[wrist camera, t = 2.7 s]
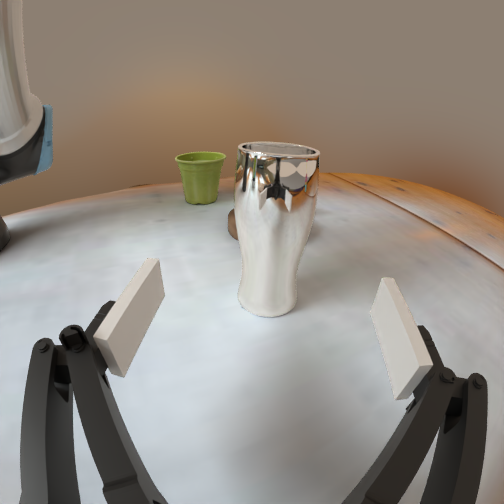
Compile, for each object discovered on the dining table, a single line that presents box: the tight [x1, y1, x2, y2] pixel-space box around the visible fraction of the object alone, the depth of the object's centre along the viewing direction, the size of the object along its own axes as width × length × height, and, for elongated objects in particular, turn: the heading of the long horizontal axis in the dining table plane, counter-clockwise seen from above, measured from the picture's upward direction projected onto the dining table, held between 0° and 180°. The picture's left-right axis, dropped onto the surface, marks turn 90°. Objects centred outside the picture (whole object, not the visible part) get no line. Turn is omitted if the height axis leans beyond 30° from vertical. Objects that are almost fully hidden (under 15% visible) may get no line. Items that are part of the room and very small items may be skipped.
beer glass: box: [234, 142, 320, 317], centre depth 25 cm, size 7×7×15 cm
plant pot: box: [175, 152, 226, 204], centre depth 51 cm, size 9×9×9 cm
